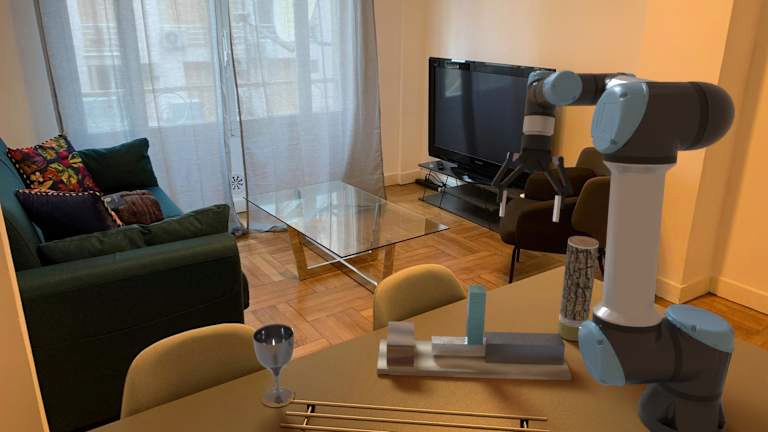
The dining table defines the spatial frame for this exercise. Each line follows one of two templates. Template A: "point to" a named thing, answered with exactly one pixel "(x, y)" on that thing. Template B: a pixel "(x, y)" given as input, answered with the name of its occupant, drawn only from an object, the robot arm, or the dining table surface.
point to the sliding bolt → (474, 329)
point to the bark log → (577, 285)
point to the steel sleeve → (524, 348)
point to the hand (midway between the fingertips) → (528, 219)
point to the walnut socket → (400, 344)
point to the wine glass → (275, 355)
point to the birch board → (467, 366)
